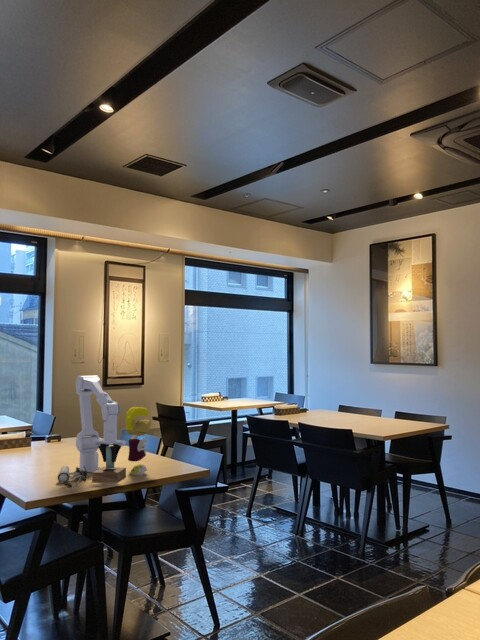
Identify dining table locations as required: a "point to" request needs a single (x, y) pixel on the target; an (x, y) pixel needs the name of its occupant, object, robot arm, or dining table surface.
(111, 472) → the socket block
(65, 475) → the clip-on lamp
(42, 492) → the dining table surface
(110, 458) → the teal peg
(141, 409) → the toy
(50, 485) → the dining table surface
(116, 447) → the robot arm
